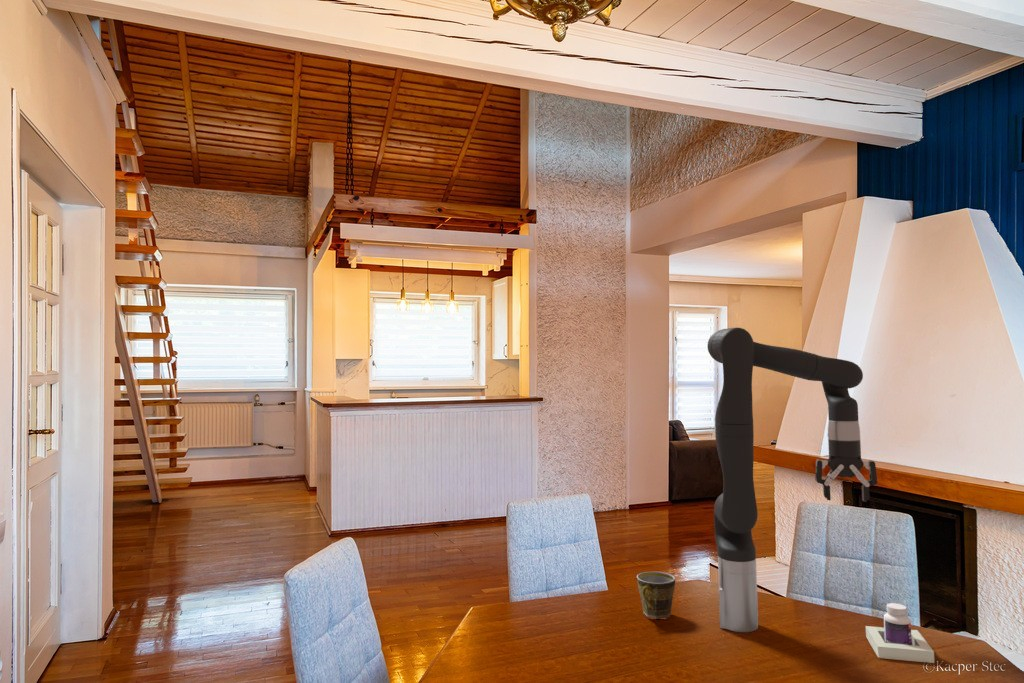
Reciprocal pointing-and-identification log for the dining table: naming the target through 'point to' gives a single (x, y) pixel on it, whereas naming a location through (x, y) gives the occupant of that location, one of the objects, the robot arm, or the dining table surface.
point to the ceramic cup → (656, 593)
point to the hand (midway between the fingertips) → (846, 500)
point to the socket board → (900, 646)
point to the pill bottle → (897, 625)
